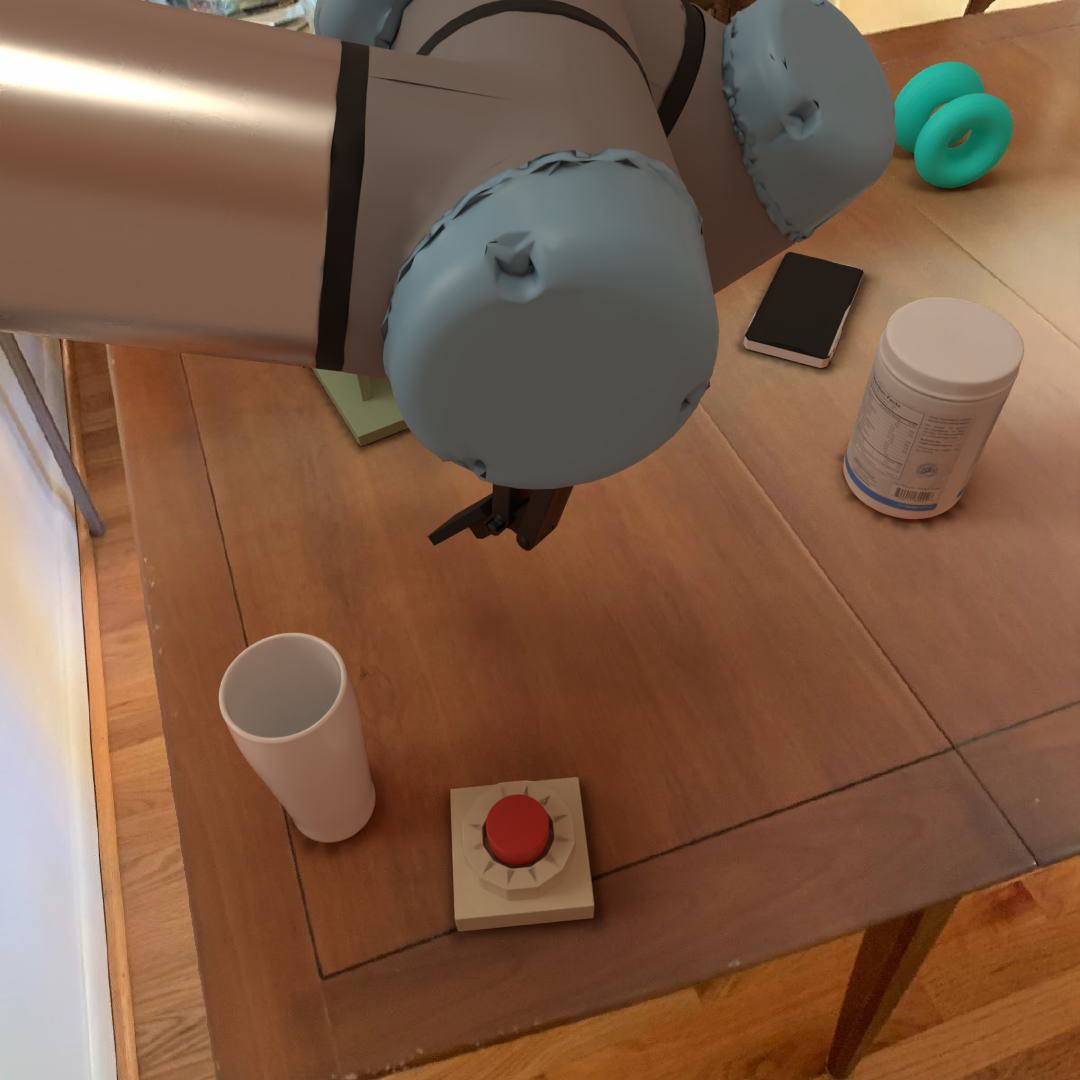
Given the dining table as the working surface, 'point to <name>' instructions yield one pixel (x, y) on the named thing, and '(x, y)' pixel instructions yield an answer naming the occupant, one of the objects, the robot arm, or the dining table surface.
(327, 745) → the drinking glass
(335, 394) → the bracket
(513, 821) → the button
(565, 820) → the button box
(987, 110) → the donuts
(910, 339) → the supplement tub
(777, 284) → the smartphone
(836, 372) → the dining table surface
